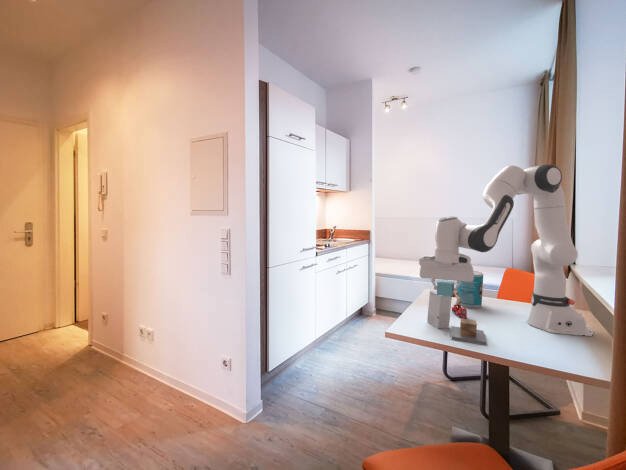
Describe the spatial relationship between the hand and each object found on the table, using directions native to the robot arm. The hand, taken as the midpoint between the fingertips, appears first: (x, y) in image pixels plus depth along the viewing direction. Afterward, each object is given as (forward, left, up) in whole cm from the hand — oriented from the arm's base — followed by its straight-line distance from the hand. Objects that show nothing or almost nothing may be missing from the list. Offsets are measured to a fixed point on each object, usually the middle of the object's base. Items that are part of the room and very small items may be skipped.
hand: (445, 290), depth 125 cm
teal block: (0, 0, -2) cm, 2 cm away
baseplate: (-9, -1, -18) cm, 20 cm away
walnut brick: (-9, -1, -17) cm, 19 cm away
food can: (-12, -47, -19) cm, 52 cm away
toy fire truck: (-6, -29, -19) cm, 35 cm away
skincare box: (+2, -10, -19) cm, 21 cm away
